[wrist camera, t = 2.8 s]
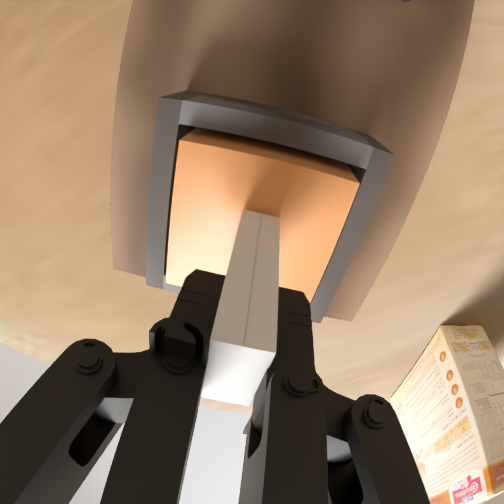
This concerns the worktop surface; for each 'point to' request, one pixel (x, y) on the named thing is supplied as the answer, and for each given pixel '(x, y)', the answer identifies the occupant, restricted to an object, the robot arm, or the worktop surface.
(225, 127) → the key panel
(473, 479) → the coffeecake box
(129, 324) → the worktop surface
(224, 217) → the orange key
